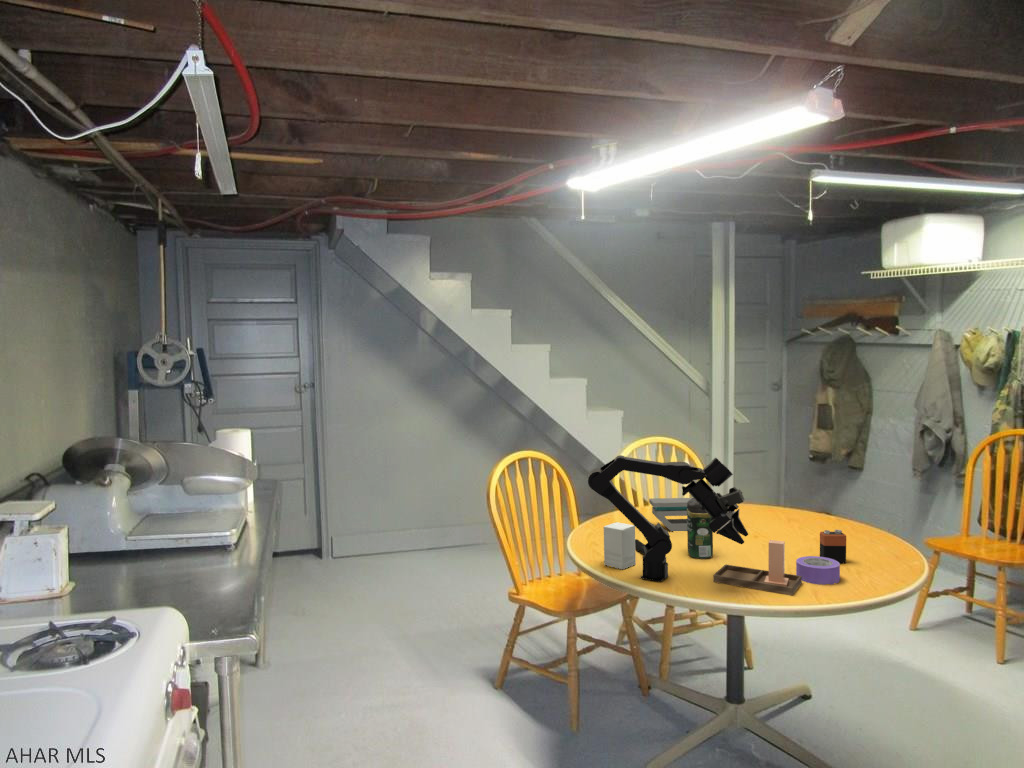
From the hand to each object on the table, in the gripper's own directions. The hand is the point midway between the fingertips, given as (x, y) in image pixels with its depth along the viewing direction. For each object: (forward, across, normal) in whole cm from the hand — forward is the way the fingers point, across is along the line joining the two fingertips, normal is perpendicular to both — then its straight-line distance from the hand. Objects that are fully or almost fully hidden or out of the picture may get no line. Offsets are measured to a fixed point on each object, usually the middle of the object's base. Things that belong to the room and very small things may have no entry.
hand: (745, 539), depth 205 cm
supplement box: (-17, +4, +37) cm, 41 cm away
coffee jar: (-2, +24, +21) cm, 32 cm away
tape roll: (+23, +14, -4) cm, 27 cm away
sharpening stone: (-10, +56, +30) cm, 64 cm away
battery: (+25, +32, -7) cm, 42 cm away
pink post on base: (+15, +2, +3) cm, 15 cm away
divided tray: (+12, +3, +7) cm, 14 cm away
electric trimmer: (-14, +20, +34) cm, 42 cm away
